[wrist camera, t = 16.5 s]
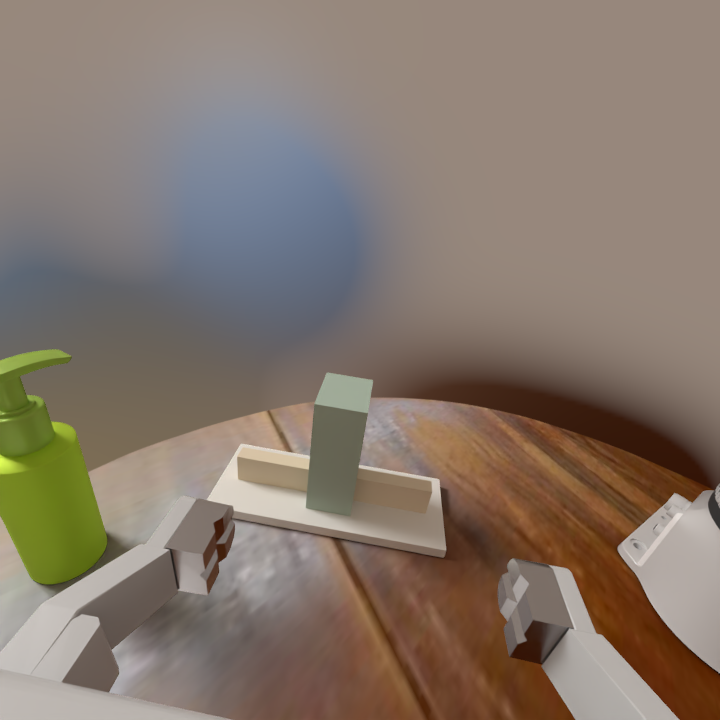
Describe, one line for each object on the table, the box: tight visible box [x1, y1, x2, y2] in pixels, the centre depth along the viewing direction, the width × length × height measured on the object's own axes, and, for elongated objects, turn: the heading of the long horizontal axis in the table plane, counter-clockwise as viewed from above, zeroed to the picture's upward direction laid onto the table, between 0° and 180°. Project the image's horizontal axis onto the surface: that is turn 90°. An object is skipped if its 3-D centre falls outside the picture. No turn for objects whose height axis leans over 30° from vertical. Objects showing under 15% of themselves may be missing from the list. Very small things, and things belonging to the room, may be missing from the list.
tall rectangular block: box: [306, 373, 373, 516], centre depth 40 cm, size 5×6×14 cm
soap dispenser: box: [0, 349, 107, 584], centre depth 30 cm, size 6×7×20 cm
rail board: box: [207, 444, 446, 558], centre depth 43 cm, size 26×10×5 cm, turn 83°
